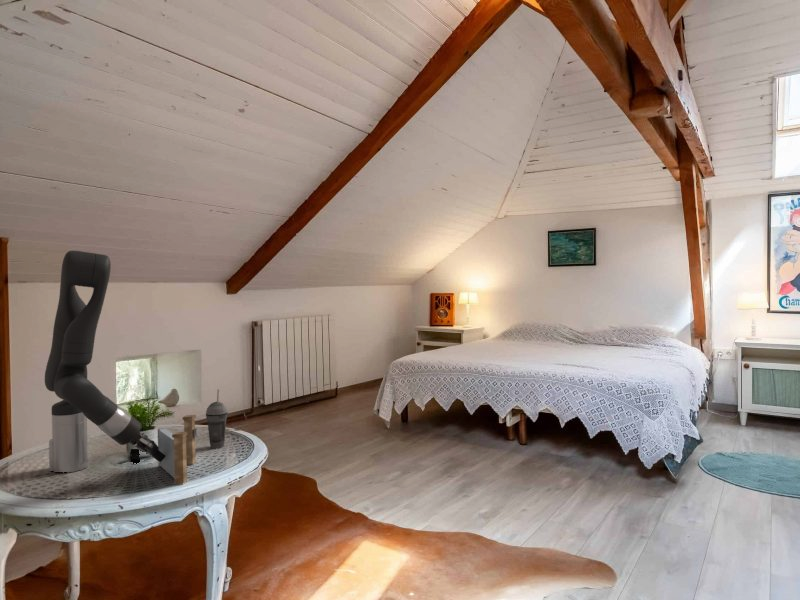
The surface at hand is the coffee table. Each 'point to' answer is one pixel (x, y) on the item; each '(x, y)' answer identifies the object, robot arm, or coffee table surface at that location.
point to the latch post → (190, 438)
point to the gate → (166, 450)
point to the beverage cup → (216, 423)
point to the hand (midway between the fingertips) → (162, 458)
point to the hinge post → (180, 457)
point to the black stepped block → (134, 456)
